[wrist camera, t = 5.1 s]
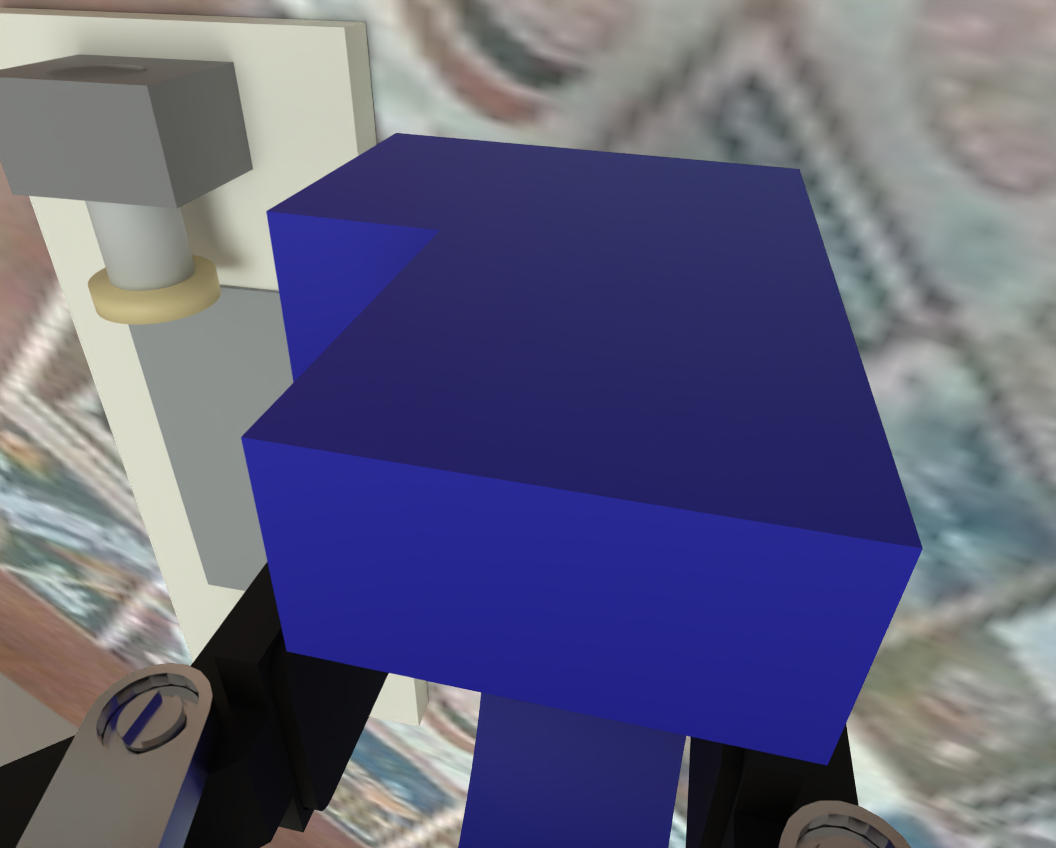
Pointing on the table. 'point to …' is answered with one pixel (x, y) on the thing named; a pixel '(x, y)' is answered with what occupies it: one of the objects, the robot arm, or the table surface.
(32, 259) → the table surface
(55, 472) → the table surface
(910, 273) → the table surface
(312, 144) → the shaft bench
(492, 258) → the blue cradle bracket
